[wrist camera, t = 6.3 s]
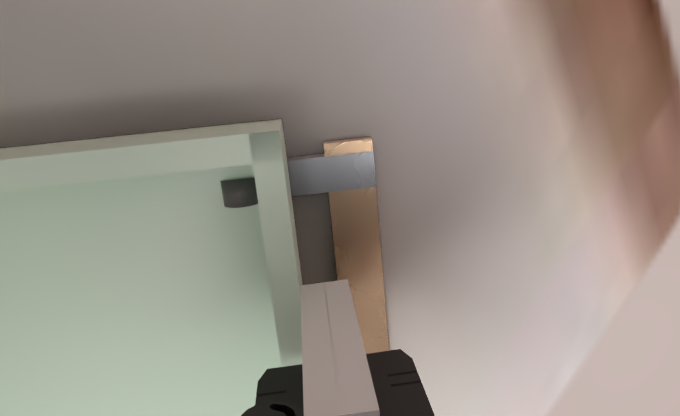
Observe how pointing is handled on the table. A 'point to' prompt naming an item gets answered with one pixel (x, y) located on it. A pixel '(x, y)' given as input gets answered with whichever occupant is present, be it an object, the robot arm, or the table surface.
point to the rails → (351, 225)
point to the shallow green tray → (147, 272)
